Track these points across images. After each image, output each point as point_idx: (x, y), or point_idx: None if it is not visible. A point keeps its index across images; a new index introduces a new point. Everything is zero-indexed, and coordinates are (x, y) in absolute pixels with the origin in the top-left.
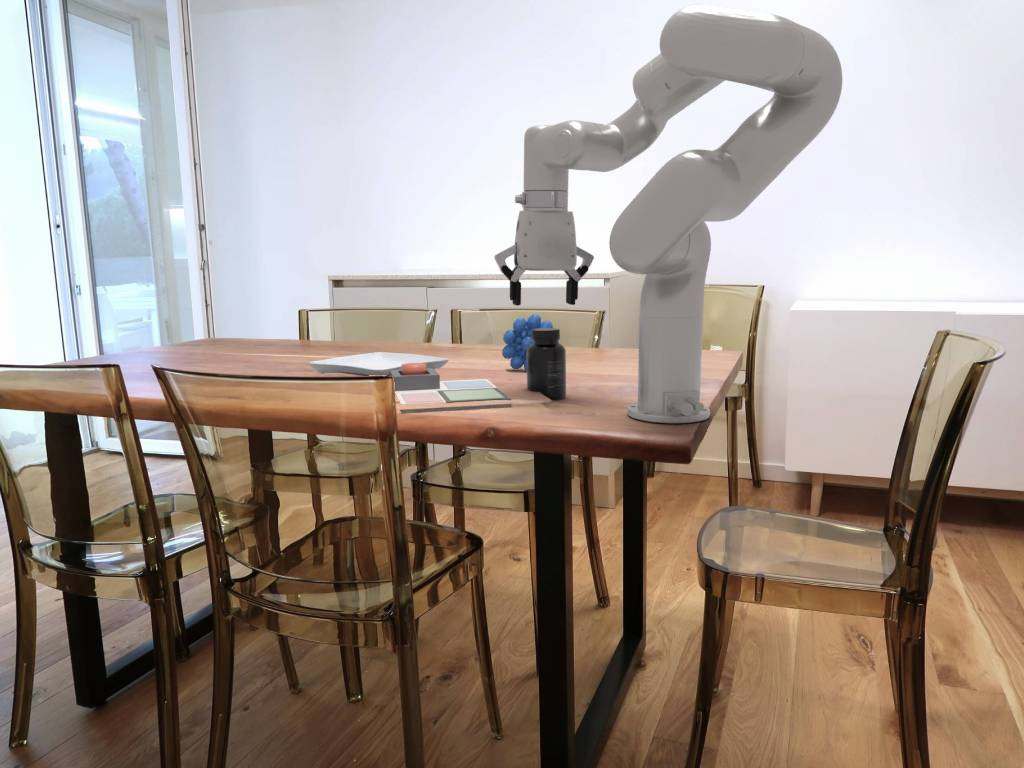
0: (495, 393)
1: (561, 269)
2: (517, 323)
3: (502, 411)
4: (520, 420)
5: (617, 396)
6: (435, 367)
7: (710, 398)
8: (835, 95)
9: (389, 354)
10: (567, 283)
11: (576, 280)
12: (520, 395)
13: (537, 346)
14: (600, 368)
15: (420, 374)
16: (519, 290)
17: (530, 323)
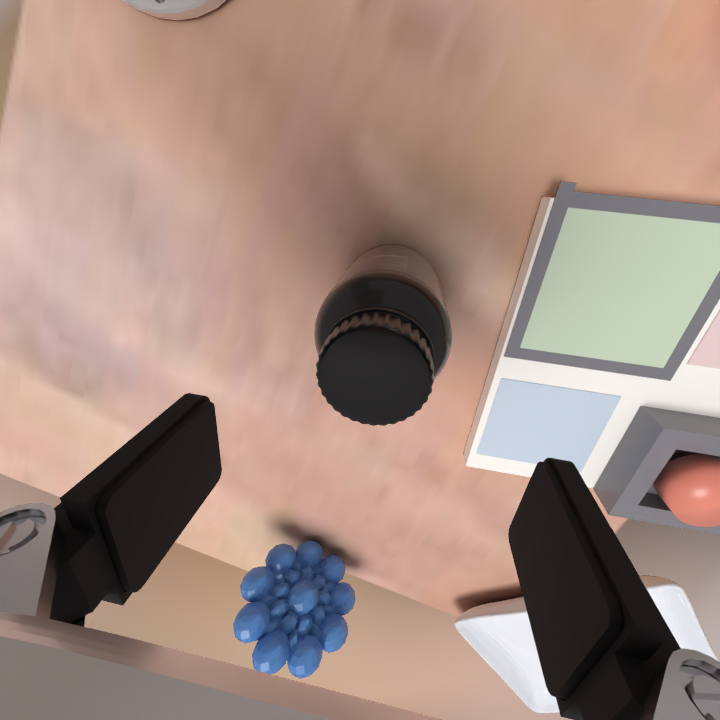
0: (553, 283)
1: (86, 644)
2: (312, 658)
3: (597, 149)
4: None
5: (224, 237)
6: (488, 605)
7: (5, 114)
8: None
9: (524, 696)
10: (140, 565)
11: (45, 519)
12: None
13: (429, 322)
14: None
15: (706, 453)
16: (599, 541)
17: (284, 645)
